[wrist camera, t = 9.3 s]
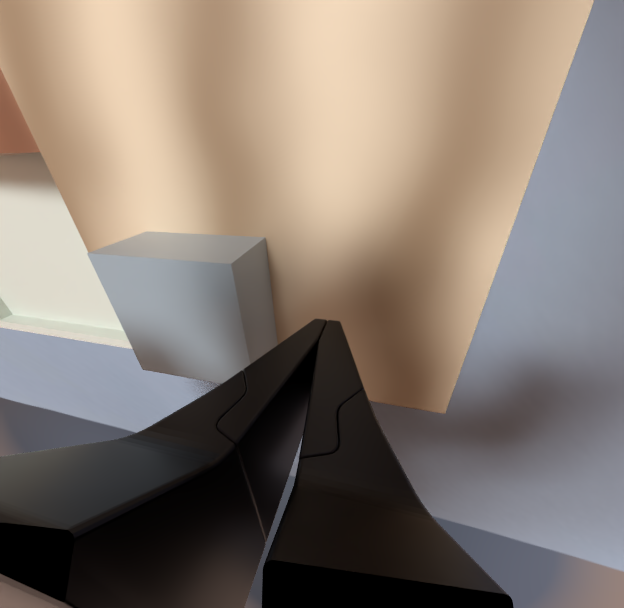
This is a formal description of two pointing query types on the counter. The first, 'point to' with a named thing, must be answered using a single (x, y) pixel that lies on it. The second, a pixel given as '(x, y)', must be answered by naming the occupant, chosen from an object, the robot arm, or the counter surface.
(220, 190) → the birch board
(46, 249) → the tray
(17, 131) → the terracotta block
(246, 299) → the grey box
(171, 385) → the counter surface
